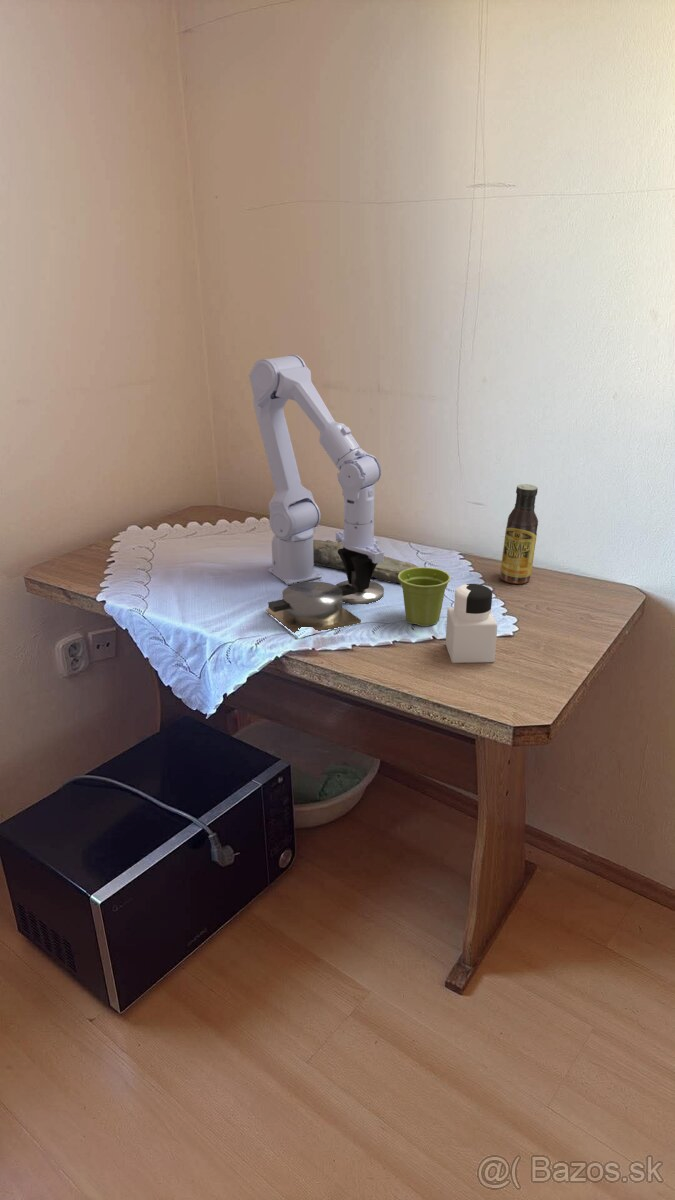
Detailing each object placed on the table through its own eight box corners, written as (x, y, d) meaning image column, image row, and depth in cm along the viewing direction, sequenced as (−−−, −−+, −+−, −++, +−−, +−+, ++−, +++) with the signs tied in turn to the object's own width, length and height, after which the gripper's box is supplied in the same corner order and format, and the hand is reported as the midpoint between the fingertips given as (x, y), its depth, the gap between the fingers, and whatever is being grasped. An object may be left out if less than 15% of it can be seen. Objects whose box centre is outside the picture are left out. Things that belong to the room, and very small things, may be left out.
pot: (256, 614, 150) (255, 589, 148) (334, 596, 158) (334, 572, 156) (288, 641, 140) (287, 615, 138) (369, 620, 147) (370, 595, 145)
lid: (324, 591, 160) (323, 566, 158) (366, 581, 165) (366, 557, 163) (349, 608, 152) (349, 583, 150) (393, 598, 157) (394, 573, 155)
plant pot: (388, 613, 150) (389, 570, 147) (433, 606, 153) (435, 564, 150) (410, 634, 142) (411, 589, 139) (457, 626, 145) (459, 581, 142)
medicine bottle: (486, 643, 139) (491, 579, 134) (494, 663, 132) (500, 596, 128) (445, 644, 139) (448, 580, 134) (451, 663, 132) (455, 597, 127)
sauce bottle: (496, 582, 164) (503, 488, 156) (505, 572, 169) (512, 480, 161) (527, 587, 162) (537, 492, 154) (535, 577, 167) (545, 484, 159)
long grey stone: (409, 598, 161) (433, 585, 168) (412, 574, 159) (436, 562, 166) (273, 555, 178) (300, 545, 186) (274, 533, 176) (301, 523, 184)
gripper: (397, 527, 149) (396, 594, 154) (357, 507, 160) (356, 570, 166) (365, 533, 145) (364, 601, 151) (326, 512, 157) (327, 576, 162)
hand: (358, 586), depth 158 cm, fingers closed on lid, 3 cm apart
